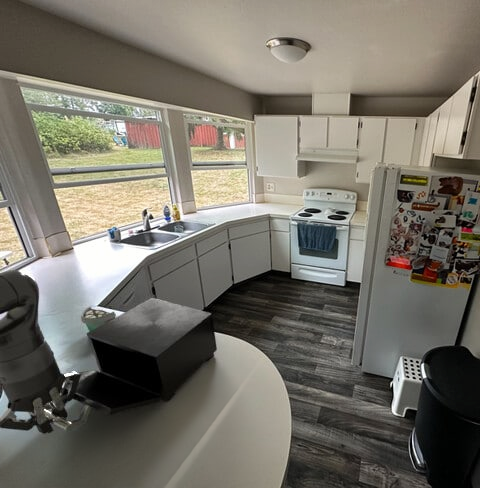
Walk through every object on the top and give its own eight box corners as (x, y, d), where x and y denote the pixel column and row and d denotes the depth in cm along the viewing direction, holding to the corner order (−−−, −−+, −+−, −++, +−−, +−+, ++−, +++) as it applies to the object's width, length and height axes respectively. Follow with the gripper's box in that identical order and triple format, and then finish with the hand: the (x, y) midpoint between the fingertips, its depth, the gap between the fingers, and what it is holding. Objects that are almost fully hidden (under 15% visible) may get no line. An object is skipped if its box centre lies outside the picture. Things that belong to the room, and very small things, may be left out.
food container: (78, 338, 92) (70, 315, 89) (96, 327, 98) (89, 306, 94) (104, 344, 90) (97, 321, 86) (121, 333, 95) (115, 311, 92)
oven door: (152, 419, 65) (84, 443, 51) (86, 390, 73) (9, 403, 58) (161, 396, 67) (98, 412, 52) (95, 370, 74) (23, 377, 59)
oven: (167, 405, 69) (155, 357, 64) (102, 378, 77) (86, 333, 71) (217, 354, 87) (211, 313, 82) (160, 336, 94) (151, 297, 89)
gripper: (58, 339, 57) (80, 395, 63) (-38, 389, 45) (0, 452, 51) (80, 347, 55) (100, 404, 61) (-15, 402, 43) (22, 466, 49)
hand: (55, 426), depth 56 cm, fingers closed on oven door
